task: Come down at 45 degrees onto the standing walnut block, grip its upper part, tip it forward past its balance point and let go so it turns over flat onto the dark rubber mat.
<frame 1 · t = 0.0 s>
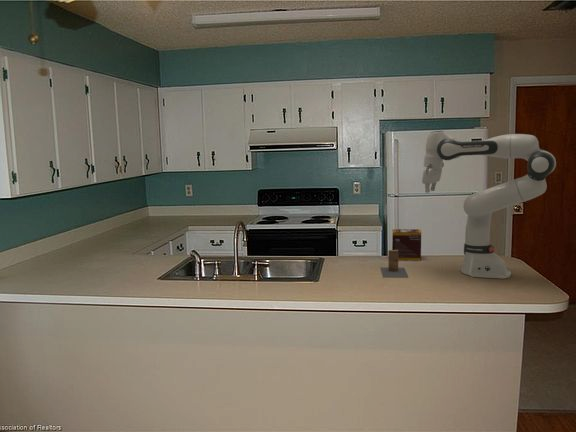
hand: (429, 191, 258), 39 cm above the worktop, tool pointing down, fingers open, 8 cm apart
walnut block: (393, 270, 258), resting on rubber mat
rubber mat: (393, 273, 254), on the worktop
supplement box: (406, 258, 285), on the worktop
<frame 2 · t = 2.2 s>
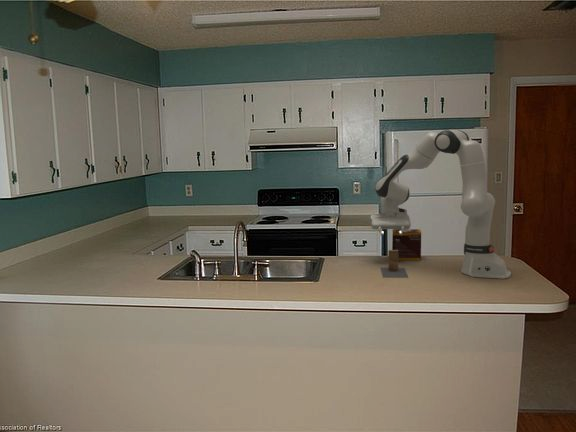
hand: (391, 234, 268), 16 cm above the worktop, tool tilted 45°, fingers open, 8 cm apart
nothing on the worktop moved.
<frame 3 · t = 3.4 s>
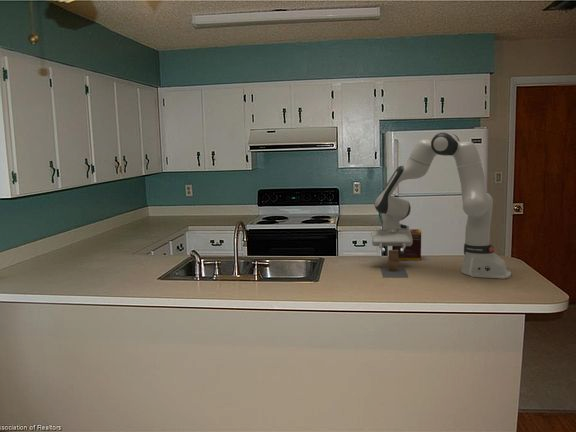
hand: (392, 252, 260), 9 cm above the worktop, tool tilted 45°, fingers open, 8 cm apart
nothing on the worktop moved.
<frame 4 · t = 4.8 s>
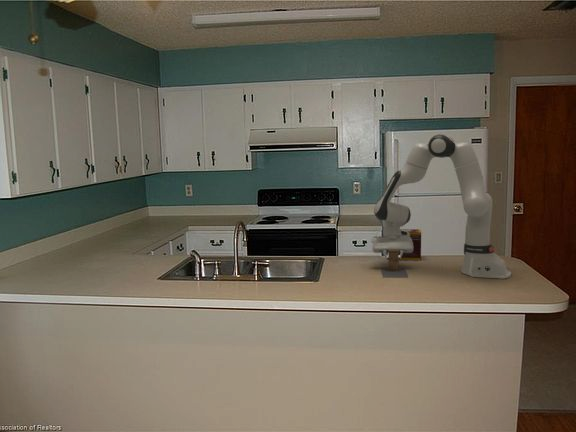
hand: (393, 259, 257), 6 cm above the worktop, tool tilted 45°, fingers closed on walnut block, 4 cm apart
walnut block: (393, 270, 258), resting on rubber mat, touching gripper
everything else where it was.
when the fingers open (6 cm above the worktop, at t = 6.3 s): walnut block moves 2 cm and tips over, resting on rubber mat.
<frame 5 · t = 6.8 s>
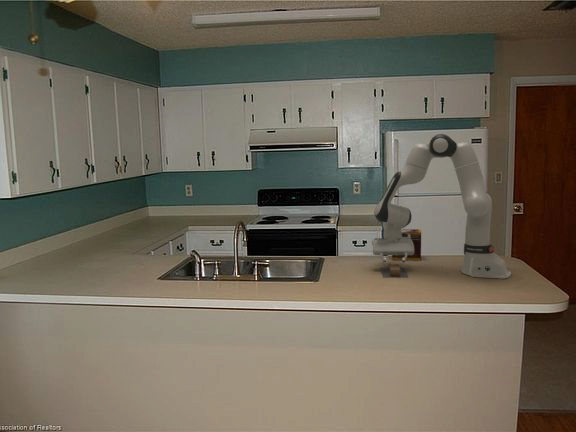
hand: (394, 261, 253), 6 cm above the worktop, tool tilted 45°, fingers open, 8 cm apart
walnut block: (393, 268, 256), point 2 cm above the worktop, tilted 90°, touching rubber mat
everything else where it was.
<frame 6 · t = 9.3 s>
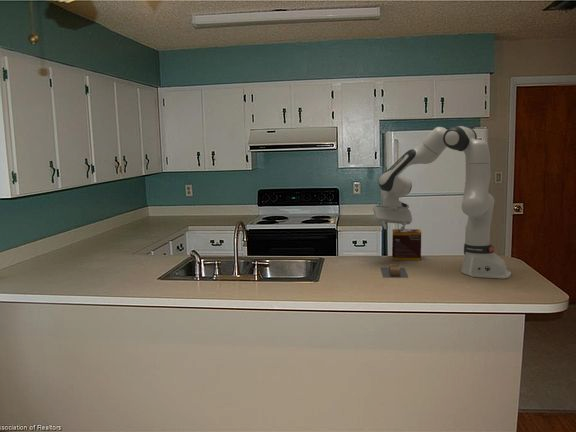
hand: (394, 229, 267), 19 cm above the worktop, tool tilted 35°, fingers open, 8 cm apart
nothing on the worktop moved.
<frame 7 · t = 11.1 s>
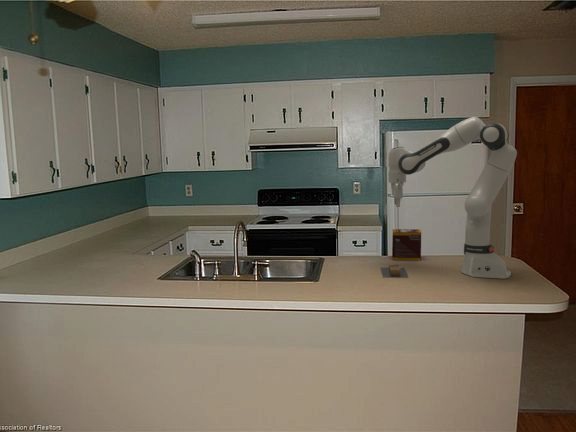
hand: (397, 205, 267), 31 cm above the worktop, tool pointing down, fingers open, 8 cm apart
nothing on the worktop moved.
at the end: walnut block tilted 90°; walnut block 1.8 cm from the rubber mat (horizontally); the gripper is holding nothing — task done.
